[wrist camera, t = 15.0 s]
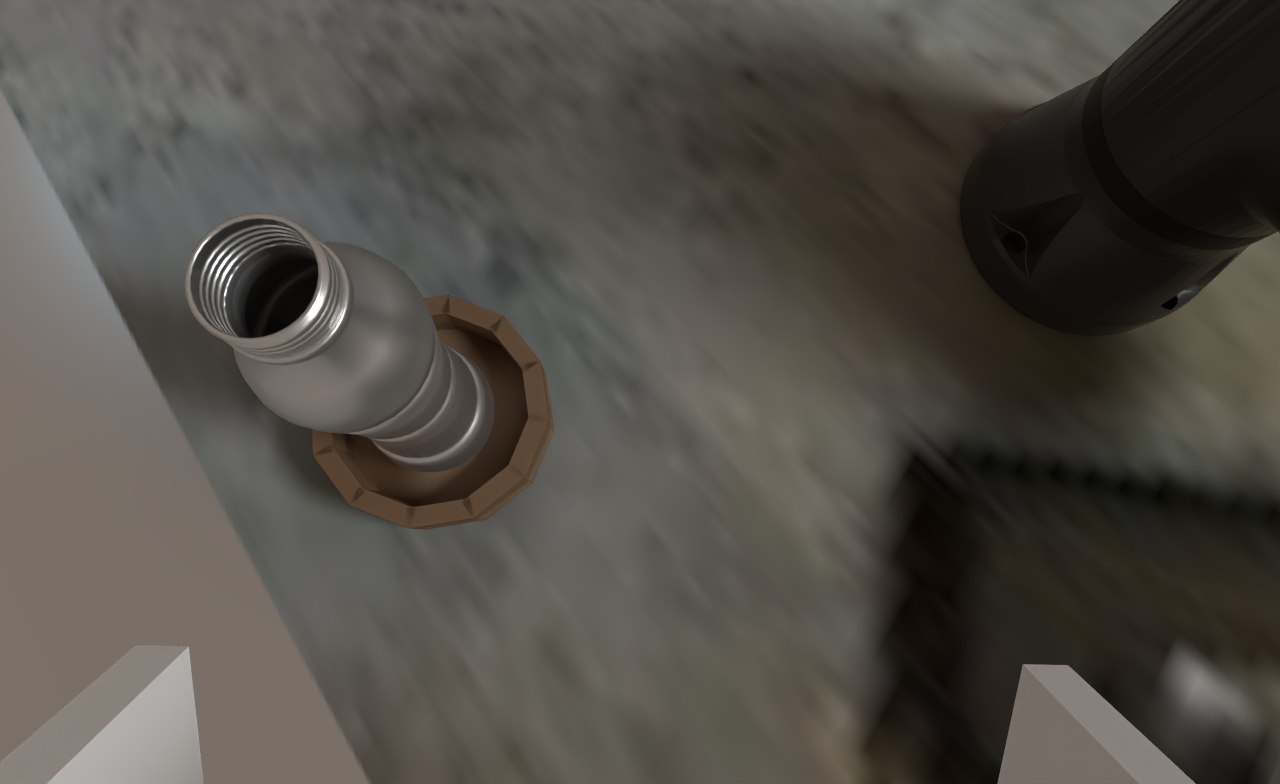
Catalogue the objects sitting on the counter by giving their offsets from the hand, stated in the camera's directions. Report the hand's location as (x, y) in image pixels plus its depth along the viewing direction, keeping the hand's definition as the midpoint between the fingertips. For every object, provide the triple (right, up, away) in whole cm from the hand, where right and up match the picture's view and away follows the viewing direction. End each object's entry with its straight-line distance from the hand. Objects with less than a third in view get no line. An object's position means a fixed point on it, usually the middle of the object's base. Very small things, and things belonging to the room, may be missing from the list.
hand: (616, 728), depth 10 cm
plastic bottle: (-11, +4, +26) cm, 29 cm away
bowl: (-11, +4, +27) cm, 29 cm away
